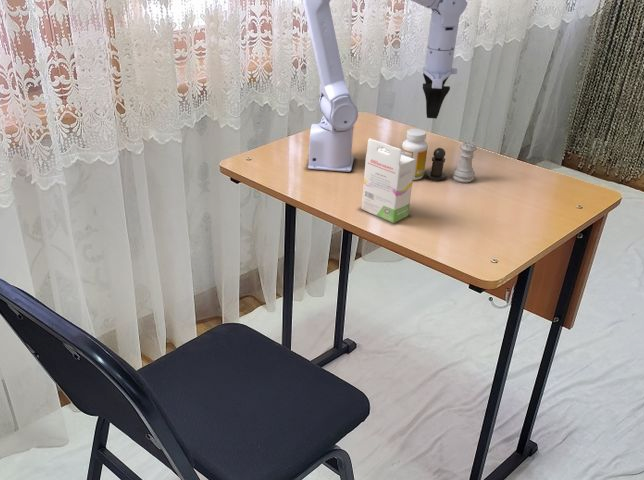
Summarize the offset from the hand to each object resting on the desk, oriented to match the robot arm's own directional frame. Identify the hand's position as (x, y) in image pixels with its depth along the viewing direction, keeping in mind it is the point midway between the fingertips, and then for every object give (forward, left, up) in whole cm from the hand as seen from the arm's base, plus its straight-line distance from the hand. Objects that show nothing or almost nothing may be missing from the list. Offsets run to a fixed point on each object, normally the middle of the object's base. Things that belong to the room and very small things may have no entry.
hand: (431, 111), depth 161 cm
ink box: (-8, -30, -11) cm, 33 cm away
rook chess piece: (+8, -11, -11) cm, 17 cm away
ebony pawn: (+2, -11, -10) cm, 15 cm away
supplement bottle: (-3, -11, -11) cm, 16 cm away
